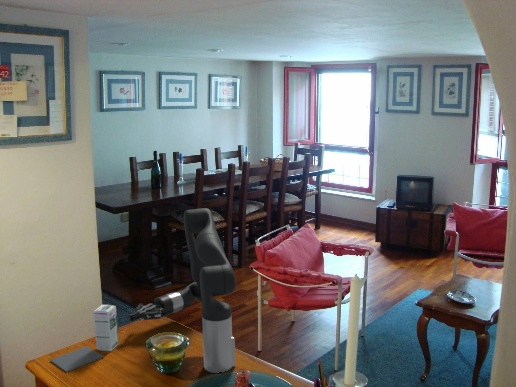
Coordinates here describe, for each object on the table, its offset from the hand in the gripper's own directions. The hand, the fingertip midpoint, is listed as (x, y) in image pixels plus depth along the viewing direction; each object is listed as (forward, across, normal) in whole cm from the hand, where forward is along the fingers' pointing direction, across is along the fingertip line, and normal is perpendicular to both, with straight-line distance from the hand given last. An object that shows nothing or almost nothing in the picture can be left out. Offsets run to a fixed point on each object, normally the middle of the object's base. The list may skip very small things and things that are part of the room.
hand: (129, 318), depth 189 cm
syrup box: (+9, 0, +8) cm, 12 cm away
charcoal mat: (+21, 0, +8) cm, 22 cm away
